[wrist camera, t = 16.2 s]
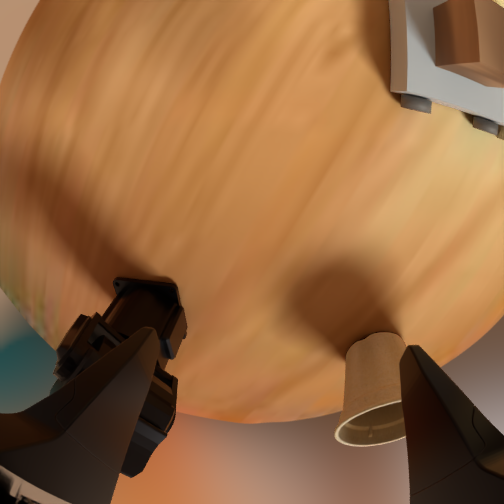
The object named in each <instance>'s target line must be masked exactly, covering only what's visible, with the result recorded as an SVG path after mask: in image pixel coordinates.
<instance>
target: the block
mask: <svg viewBox="0 0 504 504" xmlns="http://www.w3.org/2000/svg"><path fill="white" fill-rule="evenodd" d="M433 16H434V30H435V66H436V67H439V68H442V69H444V70H447V71H450V72H453V73H455V74H458V75H460V76H463V77H465V78H468V79H470V80H473V81H475V82H477V83H479V84H482V85H484V86H486V87H496V88H504V8H503V7H501V6H500V5H498V4H496V3H495V2H493V1H491V0H448V1H446V2H444V3H442V4H440V5H438V6H436V7H434V8H433Z"/></svg>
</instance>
